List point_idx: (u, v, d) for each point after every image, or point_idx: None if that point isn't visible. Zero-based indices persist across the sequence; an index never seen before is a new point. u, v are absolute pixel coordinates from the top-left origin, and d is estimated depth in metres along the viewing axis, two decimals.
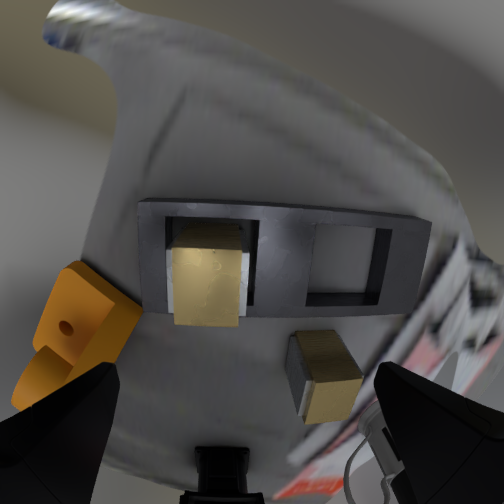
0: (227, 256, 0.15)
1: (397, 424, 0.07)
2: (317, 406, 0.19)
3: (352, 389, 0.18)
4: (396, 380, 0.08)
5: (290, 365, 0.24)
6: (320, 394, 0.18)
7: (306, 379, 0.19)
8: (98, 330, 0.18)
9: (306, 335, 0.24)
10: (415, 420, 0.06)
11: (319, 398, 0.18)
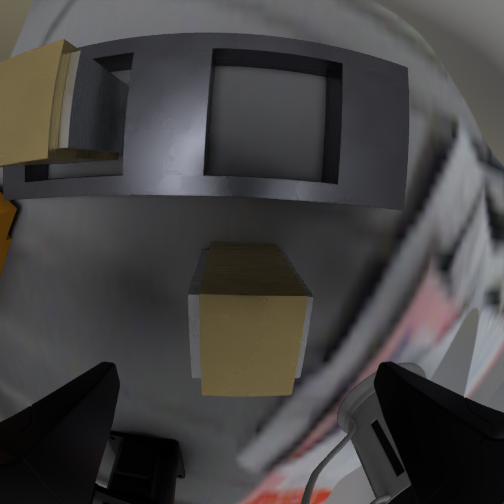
0: (47, 52, 0.06)
1: (397, 424, 0.07)
2: (216, 355, 0.10)
3: (287, 322, 0.10)
4: (396, 380, 0.08)
5: None
6: (215, 325, 0.10)
7: (189, 292, 0.10)
8: None
9: (225, 246, 0.15)
10: (415, 420, 0.06)
11: (216, 335, 0.10)
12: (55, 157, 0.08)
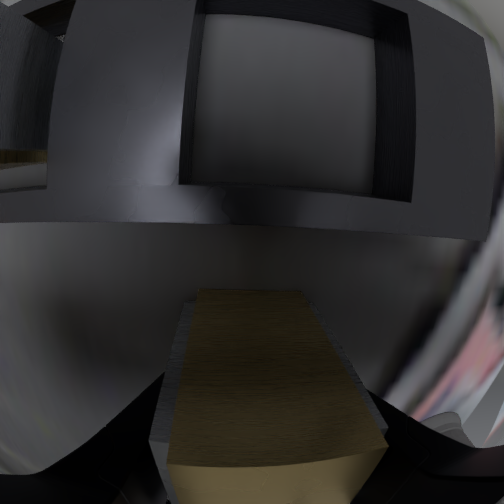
0: None
1: None
2: None
3: (342, 481, 0.04)
4: None
5: None
6: (207, 496, 0.04)
7: (152, 434, 0.04)
8: None
9: (221, 298, 0.09)
10: None
11: (209, 503, 0.04)
12: None
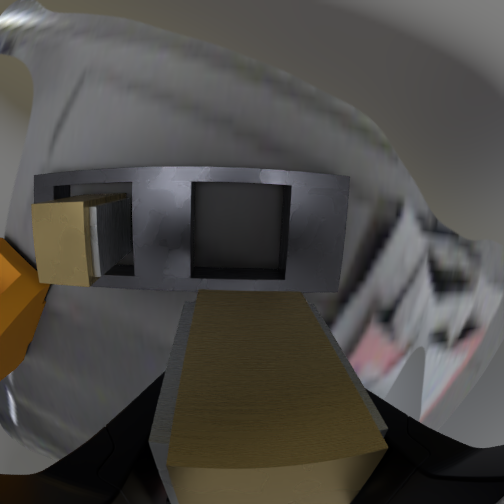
0: (71, 209, 0.13)
1: None
2: None
3: (342, 482, 0.04)
4: None
5: None
6: (207, 497, 0.04)
7: (152, 435, 0.04)
8: (0, 296, 0.15)
9: (221, 299, 0.09)
10: None
11: None
12: (93, 282, 0.14)
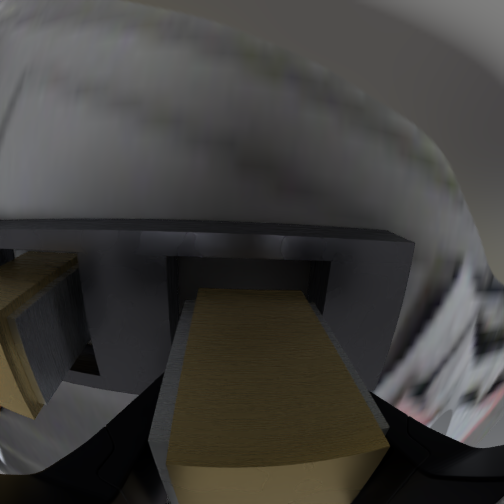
0: None
1: None
2: None
3: (343, 481, 0.04)
4: None
5: None
6: (207, 496, 0.04)
7: (152, 434, 0.04)
8: None
9: (221, 298, 0.09)
10: None
11: None
12: (39, 409, 0.08)
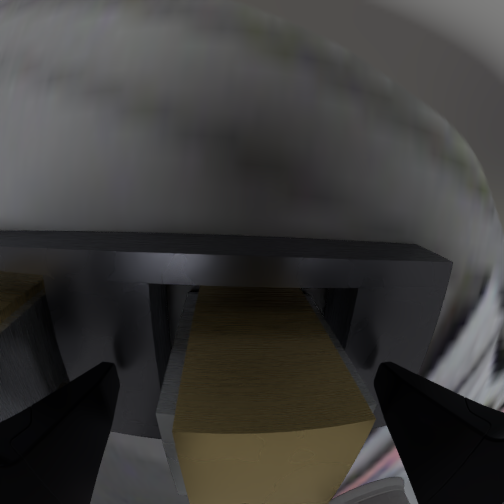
0: None
1: (397, 424, 0.07)
2: (213, 492, 0.05)
3: (334, 454, 0.05)
4: (396, 380, 0.08)
5: None
6: (208, 466, 0.04)
7: (159, 407, 0.05)
8: None
9: (222, 289, 0.10)
10: (415, 420, 0.06)
11: (210, 476, 0.04)
12: None
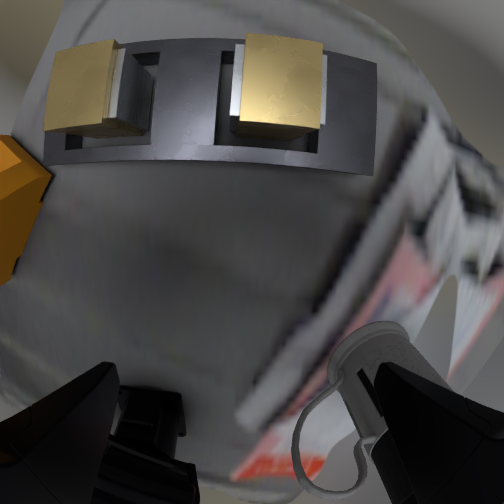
0: (99, 47, 0.10)
1: (397, 424, 0.07)
2: (256, 78, 0.11)
3: (310, 57, 0.11)
4: (396, 380, 0.08)
5: None
6: (257, 54, 0.11)
7: None
8: None
9: None
10: (415, 420, 0.06)
11: (257, 61, 0.11)
12: (105, 123, 0.12)
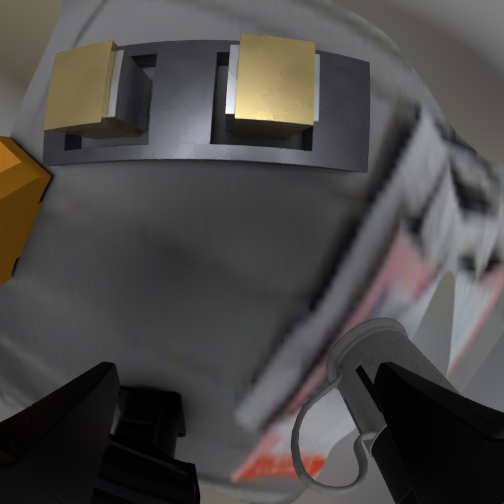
0: (98, 48, 0.10)
1: (397, 424, 0.07)
2: (250, 77, 0.12)
3: (302, 56, 0.11)
4: (396, 380, 0.08)
5: None
6: (251, 53, 0.11)
7: (231, 46, 0.12)
8: None
9: None
10: (415, 420, 0.06)
11: (251, 61, 0.11)
12: (104, 123, 0.12)
